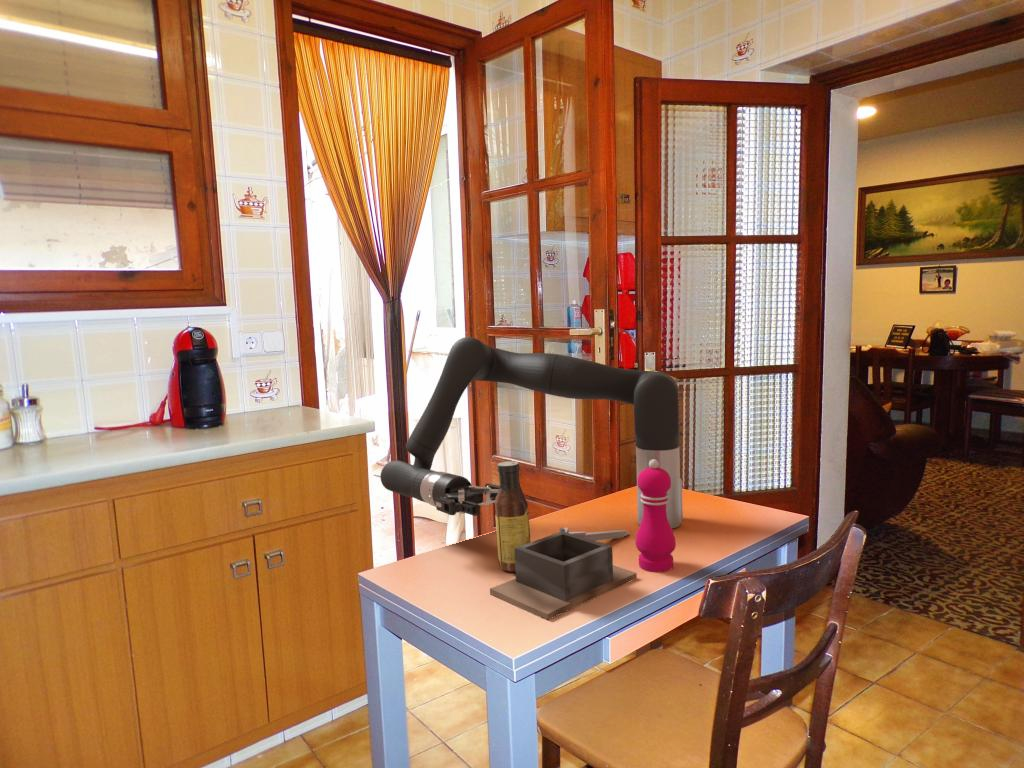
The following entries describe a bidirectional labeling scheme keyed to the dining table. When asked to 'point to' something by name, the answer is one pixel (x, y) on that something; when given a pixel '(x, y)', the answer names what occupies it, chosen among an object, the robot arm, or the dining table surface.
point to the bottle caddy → (561, 574)
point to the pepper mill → (655, 520)
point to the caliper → (599, 534)
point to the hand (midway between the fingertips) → (495, 505)
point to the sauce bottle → (510, 515)
